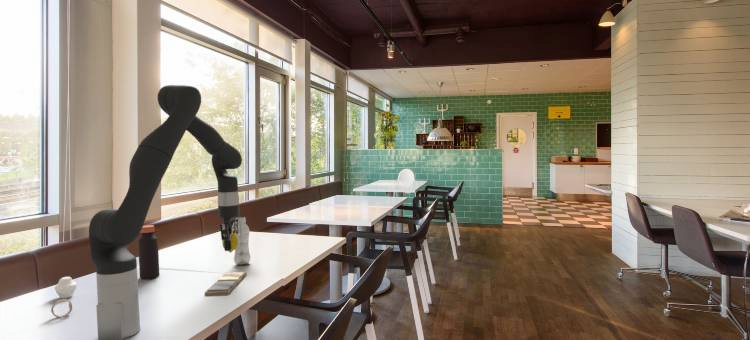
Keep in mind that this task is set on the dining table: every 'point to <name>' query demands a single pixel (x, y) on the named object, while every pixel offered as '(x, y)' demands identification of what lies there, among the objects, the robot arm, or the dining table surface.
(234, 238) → the lemon
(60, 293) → the muffin
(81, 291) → the dining table surface
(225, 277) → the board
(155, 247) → the vinegar
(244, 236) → the plastic bottle
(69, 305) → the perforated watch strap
